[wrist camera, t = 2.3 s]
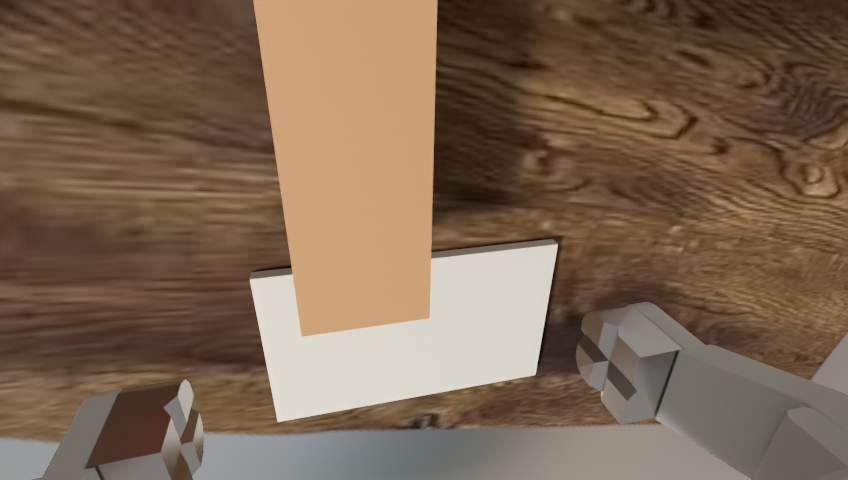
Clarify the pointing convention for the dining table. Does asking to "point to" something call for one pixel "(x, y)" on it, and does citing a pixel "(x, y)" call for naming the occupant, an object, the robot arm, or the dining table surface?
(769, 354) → the dining table surface
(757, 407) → the robot arm
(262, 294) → the felt mat
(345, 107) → the bench model
